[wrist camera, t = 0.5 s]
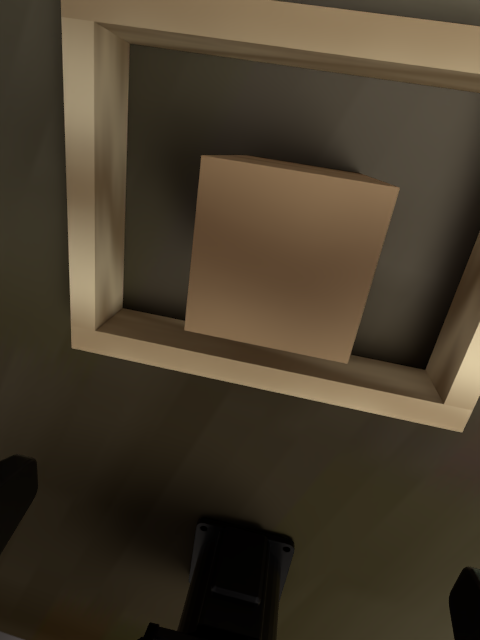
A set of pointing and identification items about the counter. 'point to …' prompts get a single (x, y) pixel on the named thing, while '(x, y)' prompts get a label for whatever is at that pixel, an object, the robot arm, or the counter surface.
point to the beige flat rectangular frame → (110, 190)
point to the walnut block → (285, 253)
